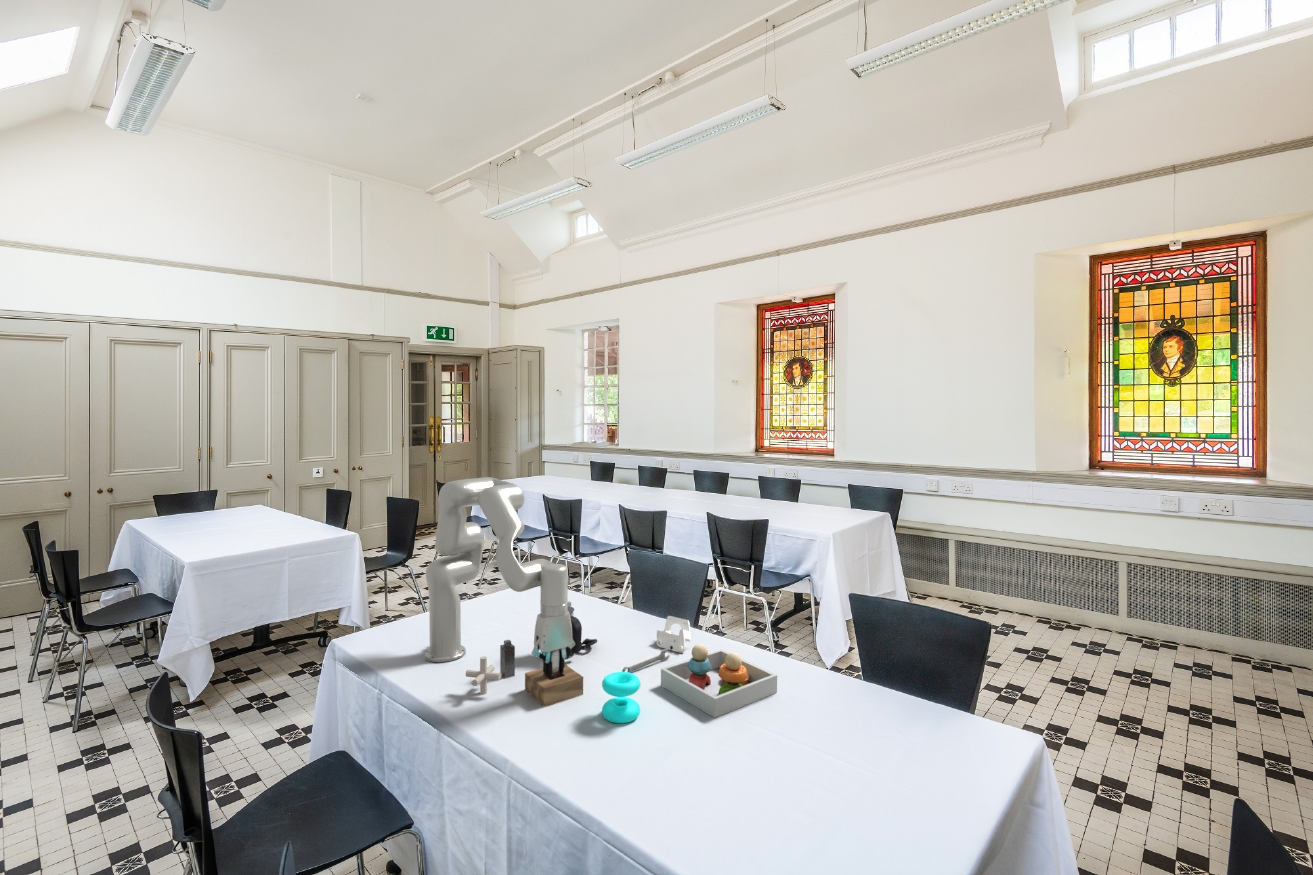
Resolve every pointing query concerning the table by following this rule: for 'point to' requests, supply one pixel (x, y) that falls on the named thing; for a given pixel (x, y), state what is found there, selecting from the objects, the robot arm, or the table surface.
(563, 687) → the socket block
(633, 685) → the donuts
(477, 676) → the pipe connector
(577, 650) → the milk frother
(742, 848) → the table surface
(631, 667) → the combination wrench
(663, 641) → the mounting bracket
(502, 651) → the square bit
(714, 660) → the parts tray
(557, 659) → the round bit
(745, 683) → the stacking toy figures
